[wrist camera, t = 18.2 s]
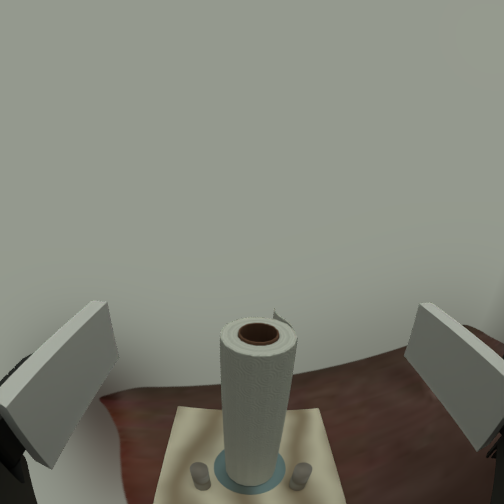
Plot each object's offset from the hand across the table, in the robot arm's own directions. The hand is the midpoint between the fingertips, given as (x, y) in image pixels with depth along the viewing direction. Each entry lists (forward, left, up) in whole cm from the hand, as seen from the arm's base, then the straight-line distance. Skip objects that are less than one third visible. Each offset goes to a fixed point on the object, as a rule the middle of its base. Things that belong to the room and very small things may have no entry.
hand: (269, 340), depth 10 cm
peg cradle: (0, -10, -28) cm, 30 cm away
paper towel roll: (-1, -10, -27) cm, 28 cm away
